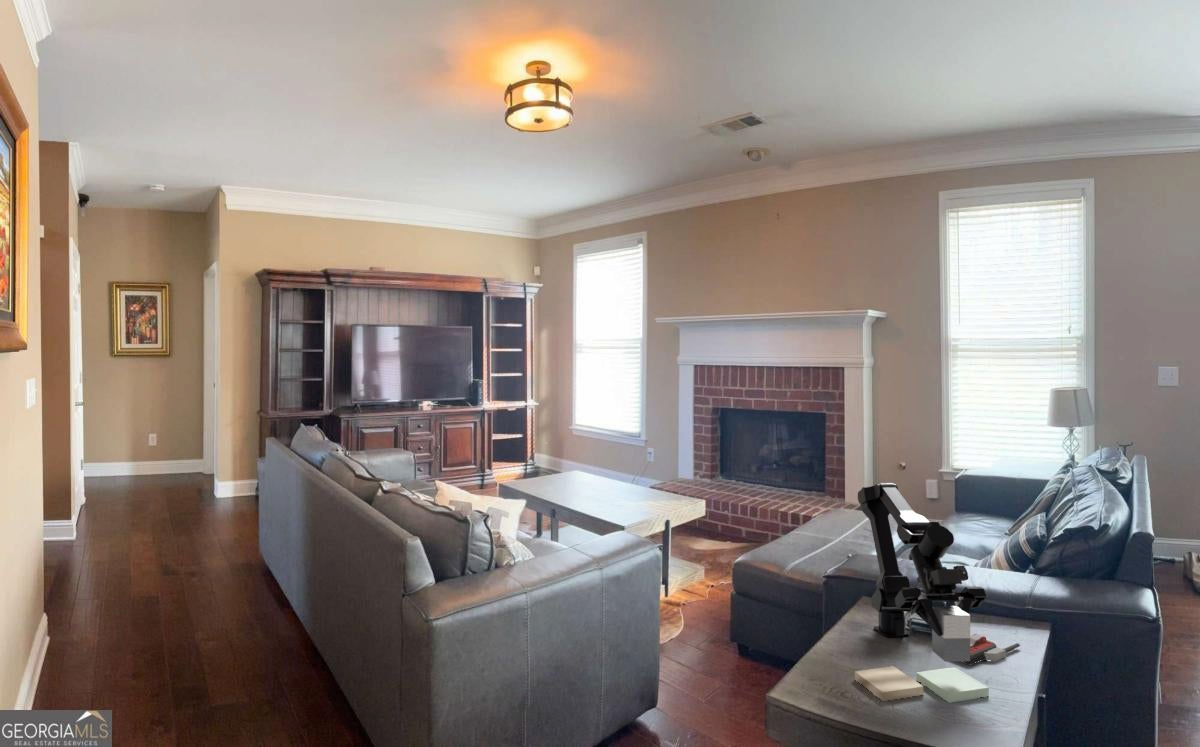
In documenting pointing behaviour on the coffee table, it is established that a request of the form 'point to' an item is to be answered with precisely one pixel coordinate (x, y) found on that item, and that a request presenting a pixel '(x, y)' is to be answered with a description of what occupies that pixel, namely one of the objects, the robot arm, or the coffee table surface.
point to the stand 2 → (952, 684)
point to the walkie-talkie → (986, 650)
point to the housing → (952, 634)
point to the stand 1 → (888, 683)
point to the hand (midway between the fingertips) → (954, 635)
